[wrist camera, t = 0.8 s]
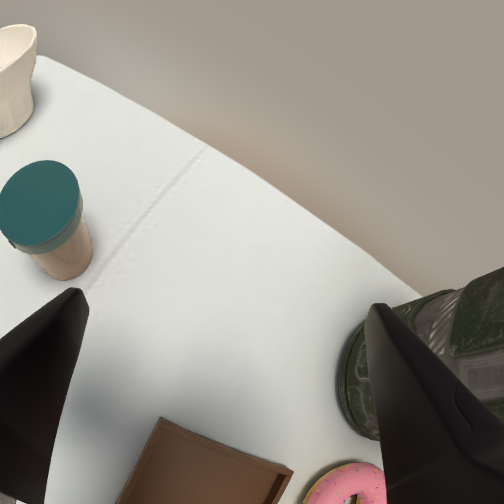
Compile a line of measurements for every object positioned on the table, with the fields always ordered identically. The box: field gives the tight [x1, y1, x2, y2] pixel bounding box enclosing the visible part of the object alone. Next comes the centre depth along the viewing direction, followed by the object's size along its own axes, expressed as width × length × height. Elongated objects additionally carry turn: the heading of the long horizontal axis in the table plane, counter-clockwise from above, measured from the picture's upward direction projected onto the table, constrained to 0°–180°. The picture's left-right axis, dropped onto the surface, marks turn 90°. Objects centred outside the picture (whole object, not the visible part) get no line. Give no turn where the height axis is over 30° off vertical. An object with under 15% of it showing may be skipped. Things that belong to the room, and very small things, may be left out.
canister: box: [339, 267, 504, 442], centre depth 20 cm, size 16×16×28 cm
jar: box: [29, 215, 93, 280], centre depth 22 cm, size 6×6×10 cm
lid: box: [0, 160, 83, 255], centre depth 18 cm, size 7×7×2 cm
